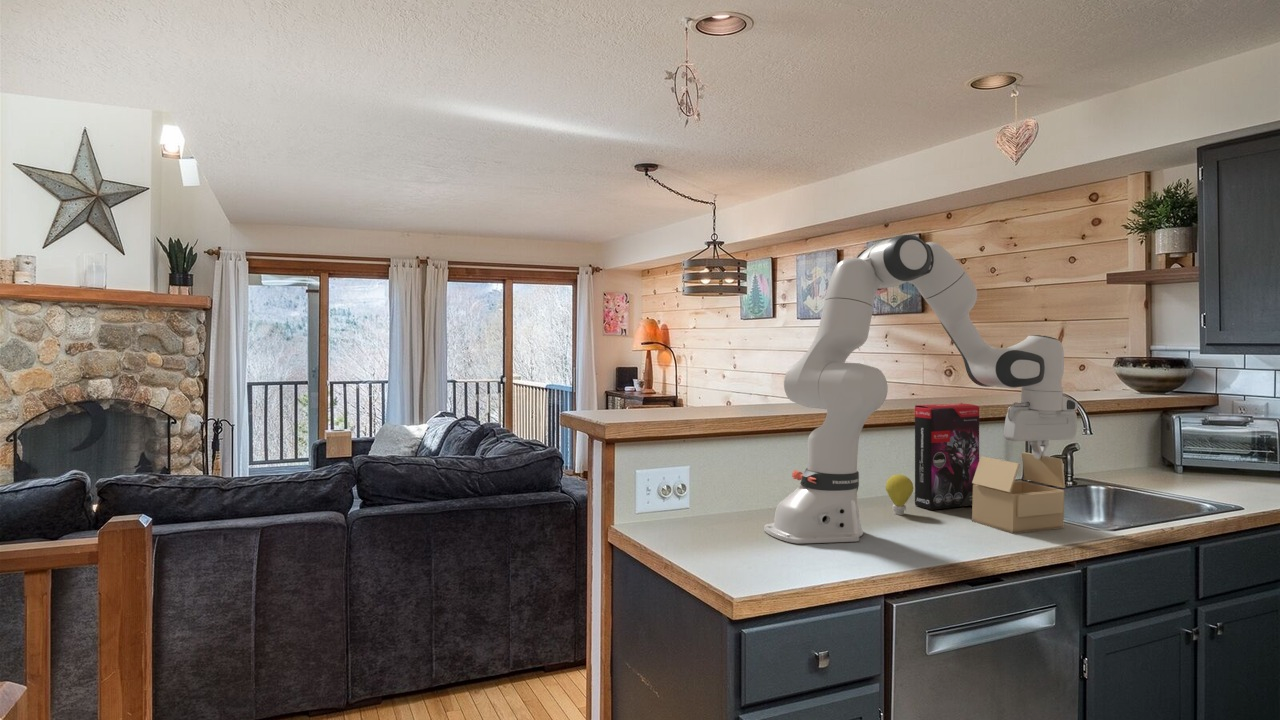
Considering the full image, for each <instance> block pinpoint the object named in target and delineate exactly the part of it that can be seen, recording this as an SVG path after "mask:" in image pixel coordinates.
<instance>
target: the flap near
mask: <svg viewBox="0 0 1280 720" xmlns="http://www.w3.org/2000/svg"><path fill="white" fill-rule="evenodd" d="M1020 465H1021V464H1020V463H1018V462H1014V461H1008V460H1003V459H998V458H993V457H987V456H983V455H980V456H979V463H978V466H977V469H976V472H975V475H974V478H973V481H972V483H973V484H977V485H981V486H985V487H989V488H994V489H998V490H1002V491H1006V492H1010V493H1011V490H1012V487H1013V484H1014V481H1016V478H1017V474H1018V471H1019V469H1020Z"/></svg>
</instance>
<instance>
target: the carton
mask: <svg viewBox="0 0 1280 720" xmlns="http://www.w3.org/2000/svg"><path fill="white" fill-rule="evenodd" d="M971 506H972V507H971V508H972V509H971V512H972V513H971V522H973V521H974V523H976V522H977V523H976V524H980V525H983V524H984V526H986V525H987V526H986V527H989V526H990V528H993V529H996V530H999V531H1003V532H1007V533H1009V534H1013V535H1014V534H1020V533H1021V534H1024V533H1030V532H1031V533H1032V532H1039V531H1049V530H1056V529H1064V524H1065V523H1064V522H1065V521H1064V519H1065V518H1064V517H1065V490H1064V489H1060V488H1055V487H1051V486H1046V485H1041V484H1037V483H1035V482H1033V483H1032V482H1030V481H1029V482H1028V481H1024V480H1018V481H1017V480H1015V481H1014V484H1013V487H1012V490H1011V493H1010V492H1006V491H1002V490H998V489H994V488H989V487H985V486H981V485H977V484H974V485H973V501H972V505H971Z"/></svg>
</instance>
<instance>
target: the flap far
mask: <svg viewBox="0 0 1280 720" xmlns="http://www.w3.org/2000/svg"><path fill="white" fill-rule="evenodd" d="M1033 455H1034V453H1030V452H1025V451H1022V452H1021V460H1022V468H1023V477H1024V480H1026V481H1029V482H1030V481H1031V482H1033V483H1040V484H1044V485H1049V486H1053V487H1057V488H1063V489H1064V488H1066V484H1065V483H1066V481H1065V473H1064V464H1063V458H1059V457H1052V456H1048V455H1044V458H1043V459H1036V458H1034V457H1033Z"/></svg>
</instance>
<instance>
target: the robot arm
mask: <svg viewBox="0 0 1280 720" xmlns="http://www.w3.org/2000/svg"><path fill="white" fill-rule="evenodd" d="M907 282H908V283H910V284H912V285H914V287H915V288H916V289H917V291H918V292H919V294H920V295H921V296H922V298H923V300H924V301H925V302H926V303H927V304H928V306H929V307H930V308H931V309H932V311H933V312H934V314H935V315H936V317H937V318H938V320H939V323H940V324H941V325H942V327H943V329H944V330H945V332H946V333H947V335H948V337H949V338H950V339H951V341H952V342H953V344H954V345H955V348H956V349H957V351H958V352H959V353H960V356H961V358H962V359H963V363H964V367H965V370H966V371H965V372H966V374H967V376H968V378H969V379H970V380H971V381H972V382H973V383H974V384H975V385H978V386H979V387H985V388H987V387H988V388H989V387H992V388H993V387H994V388H995V387H996V388H1004V389H1005V388H1006V389H1016V388H1021V393H1020V402H1016V401H1015V402H1012V404H1011V405H1010V406H1009V407H1008V408H1007V413H1006V415H1005V419H1004V420H1005V421H1004V427H1003V437H1004V439H1005V440H1006V441H1011V442H1012V441H1013V442H1030V443H1029V445H1030V447H1031V449H1032V450H1033V454H1034V455H1033V457H1034V458H1036V459H1043V458H1044V456H1045V452H1046V450H1047V448H1048V447H1049V444H1050V443H1049V442H1050V441H1064V440H1065V441H1066V440H1074V438H1075V437H1076V435H1077V427H1078V417H1077V412H1076V411H1077V410H1078V407H1079V406H1078V403H1079V402H1077V401H1076V400H1074V399H1072V398H1069V397H1066V396H1065V395H1063V394H1064V393H1063V392H1064V390H1063V384H1062V380H1063V376H1064V374H1065V373H1064V370H1065V353H1064V347H1063V344H1062V342H1061V341H1060V340H1059V339H1058V338H1056V337H1052V336H1048V335H1040V334H1031V335H1027V337H1026V338H1025V339H1023V340H1022V341H1020V342H1018V343H1016V344H1014V345H1011V346H1007V348H1006V347H1004V348H1001V347H1000V348H999V347H995V346H992V345H990V344H988V343H987V342H985V340H984V339H983V337H982V335H981V334H980V333H979V331H978V329H977V328H976V327H975V325H974V323H973V322H972V320H971V318H970V311H971V310H972V309H973V308H974V306H975V304H976V303H977V299H978V290H977V287H976V285H975V283H974V282H973V280H972V279H971V277H970V276H969V274H968V273H967V272H966V270H965V269H964V268H963V267H962V265H961V264H960V262H958V261H957V260H956V258H955V257H953V255H952V254H951V253H950V252H949V251H948V250H946V248H944V247H943V245H940V244H939V243H938V242H935V241H934V242H933V241H927V242H925V241H924V240H923V239H922V238H919V237H918V236H917V235H913V234H901V235H896V236H894V237H892V238H888V239H886V240H882V241H879V242H877V243H875V244H873V245H872V246H870V247H868V248H866V249H864V250H862V251H860V253H858V255H857V256H856V257H849V258H844V259H842V260H840V261H839V262H838V263H836V264H835V266H834V270H833V271H832V274H831V277H830V279H829V282H828V286H827V289H826V292H825V297H824V303H823V306H822V312H821V317H820V321H819V325H818V330H817V332H816V335H815V337H814V340H813V341H812V343H811V345H810V347H809V348H808V350H807V351H806V352H805V354H804V355H803V356H802V358H800V359H799V360H798V361H797V362H796V363H794V364H793V365H791V366H790V367H789V368H788V370H787V371H786V374H785V375H784V379H783V388H784V392H785V395H786V397H787V399H789V400H790V401H791V402H793V403H795V404H798V405H801V406H803V407H806V408H810V409H821V410H826V412H827V413H826V416H825V418H824V419H825V420H824V421H823V423H822V425H820V426H818V427H815V429H813V430H812V431H811V432H810V434H809V435H808V438H807V467H806V469H805V471H804V472H802V471H799V470H793V472H792V473H791V478H792V479H794V480H797V481H800V483H799V484H800V485H799V486H798V487H797V488H796V489H795V490H793V491H792V492H791V493H789V495H787V496H786V497H785V498H783V499H782V500H781V501H780V502H779V503H778V504H777V505H776V509H775V512H774V519H773V522H770V523H766V524H764V527H763V529H764V532H765V533H766V534H768V535H769V536H772V537H773V538H776V539H778V540H781V541H785V542H787V543H792V544H822V543H824V544H825V543H826V544H827V543H849V542H860V537H861V536H863V535H864V531H863V527H862V524H861V518H860V511H859V501H858V490H859V487H860V486H859V484H860V475H859V474H860V472H859V471H858V455H859V454H858V452H859V442H860V436H861V433H862V430H863V427H864V425H865V424H866V421H867V420H868V418H869V417H871V415H872V414H873V413H875V411H877V410H878V409H880V408H881V406H883V404H884V403H885V401H886V400H887V396H888V390H889V386H888V380H887V378H886V376H885V374H884V373H883V371H882V370H880V369H879V368H877V367H874V366H871V365H868V364H864V363H860V362H859V363H858V362H857V363H856V362H846V361H847V359H848V358H849V356H850V355H851V354H852V353H853V352H855V350H857V349H859V348H860V347H862V346H863V345H864V344H865V343H866V342H867V340H868V338H869V333H870V327H871V322H872V315H873V310H874V304H875V297H876V294H877V292H878V291H881V290H884V289H887V288H894V287H897V286H901V285H904V284H905V283H907Z"/></svg>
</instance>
